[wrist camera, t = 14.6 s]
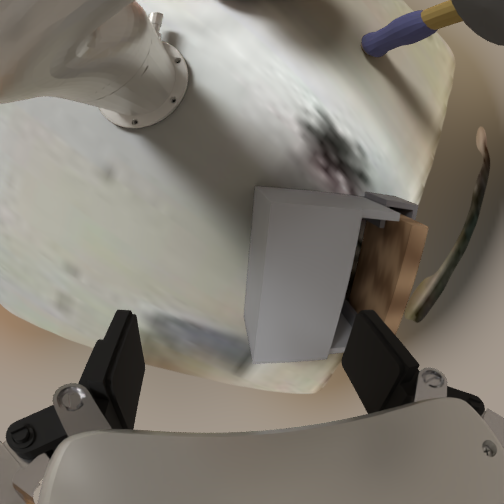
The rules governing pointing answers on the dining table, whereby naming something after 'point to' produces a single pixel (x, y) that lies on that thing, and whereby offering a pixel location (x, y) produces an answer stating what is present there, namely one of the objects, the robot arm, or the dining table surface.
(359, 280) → the tan wooden plank
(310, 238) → the cabinet
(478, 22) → the rubber mallet
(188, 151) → the dining table surface
